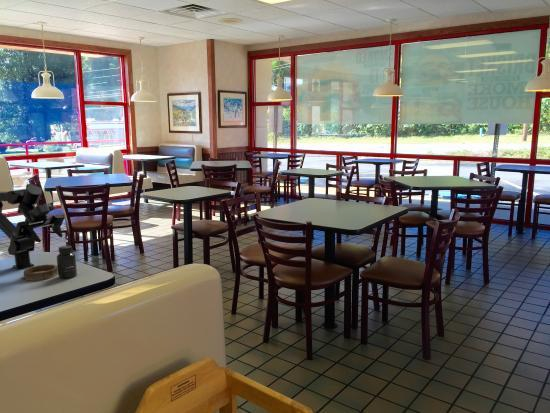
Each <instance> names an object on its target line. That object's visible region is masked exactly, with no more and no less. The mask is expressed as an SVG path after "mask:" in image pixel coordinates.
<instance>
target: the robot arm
mask: <svg viewBox="0 0 550 413" xmlns="http://www.w3.org/2000/svg"><path fill="white" fill-rule="evenodd" d="M42 193H43V189H42V188H41V187H40V186H38V185H34V184H33V183H26V186H25V188H21V189H14V190H9V191H0V231H1V232H2V233H4V234H5V235H6V237H7V238H8V239H9V246H8V248H7V252H8V255H10V256H14V263H15V264H14V265H12V268H14V269H17V270H21V269H25V268H26V269H27V268H30V267H34V266H35V264H34V263H31V256H30V255H31V254H30V252H34V251H35V245H36V242H37V243H39V244H40V243H41V242H42V240H41V238H40V237H39V235H38V234H37V233H36V232H35V230H34V229H38V228H39V229H40V228H43V227H48V226H49V227H50V228H52V229H51V230H52V231H53V233H55V234H56V235H57V236H58V237H59V238H62V237H63V231H62V227H61V226H62V225H63V222H64V221H65V216H64V215H63V214H62V213H59V214H54V215H51V218H50V219H48V220H47V218H49V217H48V215H47V214H49V213H50V212H52V211H53V209H54V207H53V205H52V204H51V203H49V202H48V203H45V204H39V205H37V206H36V204H38V203H39V200H40V198H41V195H42ZM3 202H7V203H8V204H9V205H10V204H11V205H18V206H17V213H18V214H22V215H23V217H24V218H25V219H24V220H23V221H19V222H17V223H16V225H14V224H13V223H12V221H11V220H9V218H8V217H7V216H5V214H4V213H3V207H4V203H3Z"/></svg>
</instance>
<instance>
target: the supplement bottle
mask: <svg viewBox="0 0 550 413" xmlns="http://www.w3.org/2000/svg"><path fill="white" fill-rule="evenodd" d="M58 253H59V254H57V256H56V266H58V274H57V275H58V278H59V279H63V280H65V279H66V280H68V279H73V278H75V277H76V276H78V269H77V256H76V254H75V253H74V252H73V246H72V245H64V246H59V247H58Z"/></svg>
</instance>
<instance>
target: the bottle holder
mask: <svg viewBox="0 0 550 413" xmlns="http://www.w3.org/2000/svg"><path fill="white" fill-rule="evenodd" d="M22 273H23V277H24V279H25V281H33V282H34V281H44V280H48V279H52V278H54V277H56V276H57V275H58V266H57V264H41V265H40V264H39V265H34V266H30V267H27V268H26V269H25V268H24V270H23V272H22Z"/></svg>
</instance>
